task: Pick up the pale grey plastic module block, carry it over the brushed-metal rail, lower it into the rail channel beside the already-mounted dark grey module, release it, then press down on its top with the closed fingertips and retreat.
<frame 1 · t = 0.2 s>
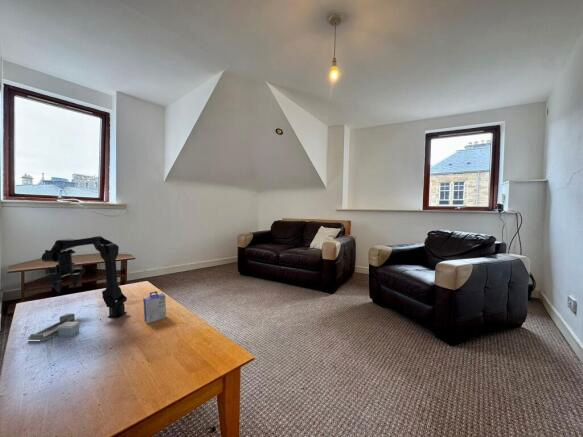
hand: (67, 289, 137), 14 cm above the table, fingers open, 9 cm apart
ink cartridge box: (155, 319, 132), on the table
din rail: (55, 331, 120), on the table
module: (69, 334, 118), on the table
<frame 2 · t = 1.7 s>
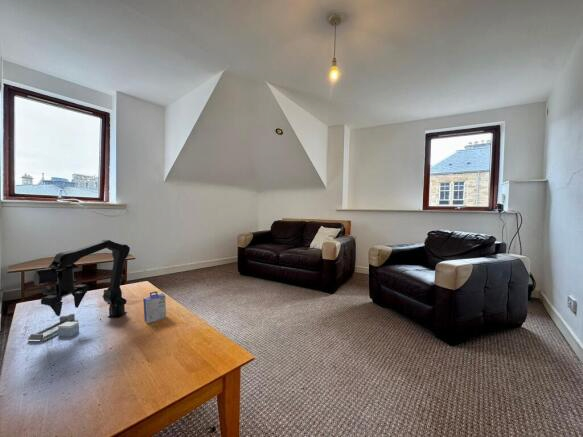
hand: (67, 311, 117), 11 cm above the table, fingers open, 9 cm apart
nothing on the table moved.
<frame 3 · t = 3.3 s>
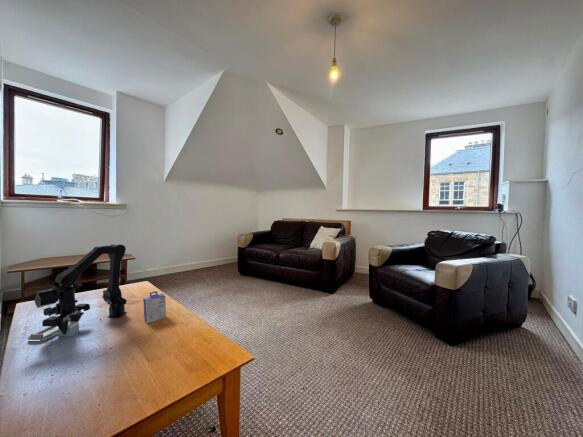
hand: (68, 331, 118), 1 cm above the table, fingers closed on module, 4 cm apart
module: (69, 333, 118), on the table, touching gripper
everything else where it was.
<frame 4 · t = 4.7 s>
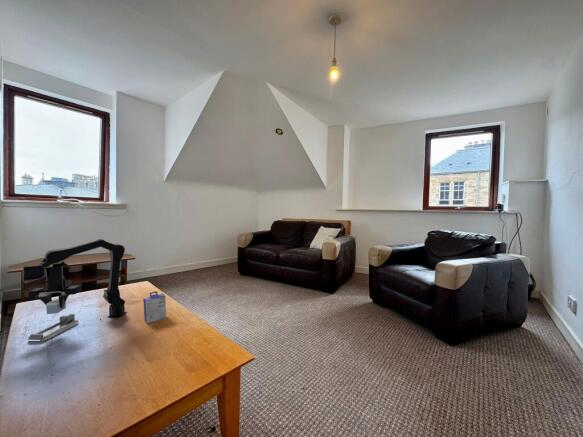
hand: (56, 308, 118), 12 cm above the table, fingers closed on module, 4 cm apart
module: (56, 311, 118), point 11 cm above the table, touching gripper
everything else where it was.
when the fingers open (3 cm above the table, at t = 6.4 s): module drops 1 cm, resting on din rail.
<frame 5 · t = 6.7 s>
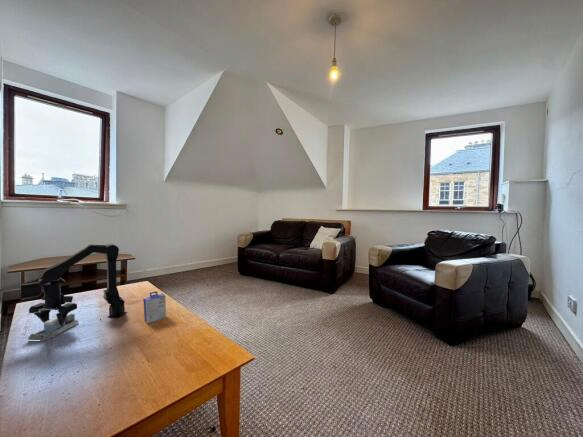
hand: (54, 325, 119), 3 cm above the table, fingers open, 7 cm apart
module: (54, 329, 120), point 1 cm above the table, touching din rail
everything else where it was.
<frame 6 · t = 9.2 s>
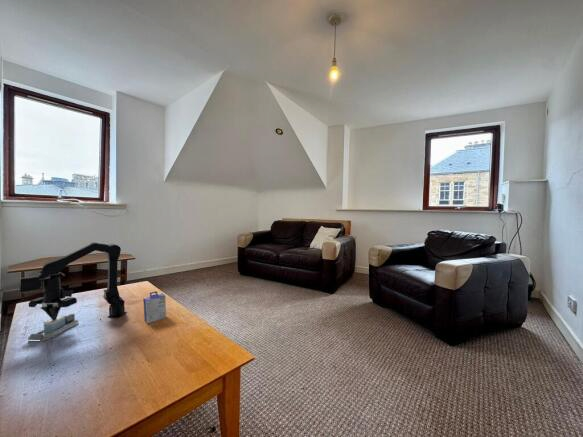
hand: (54, 319, 119), 6 cm above the table, fingers closed, pressing on module
module: (54, 329, 120), point 1 cm above the table, touching din rail, gripper
everything else where it was.
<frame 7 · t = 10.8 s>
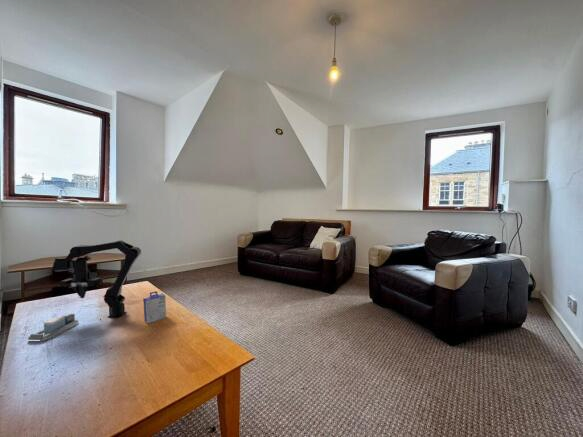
hand: (82, 298, 132), 12 cm above the table, fingers closed
module: (54, 329, 120), point 1 cm above the table, touching din rail
everything else where it was.
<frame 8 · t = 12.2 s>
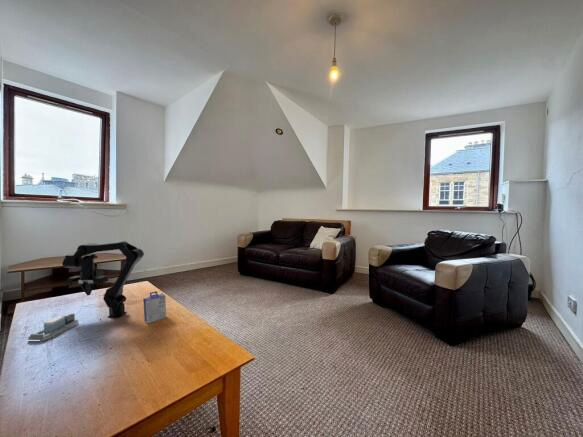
hand: (88, 295, 135), 12 cm above the table, fingers closed
nothing on the table moved.
at the end: module 0.2 cm off-centre on the din rail, point 1.2 cm above the din rail's base; module tilted 0°; the gripper is holding nothing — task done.
